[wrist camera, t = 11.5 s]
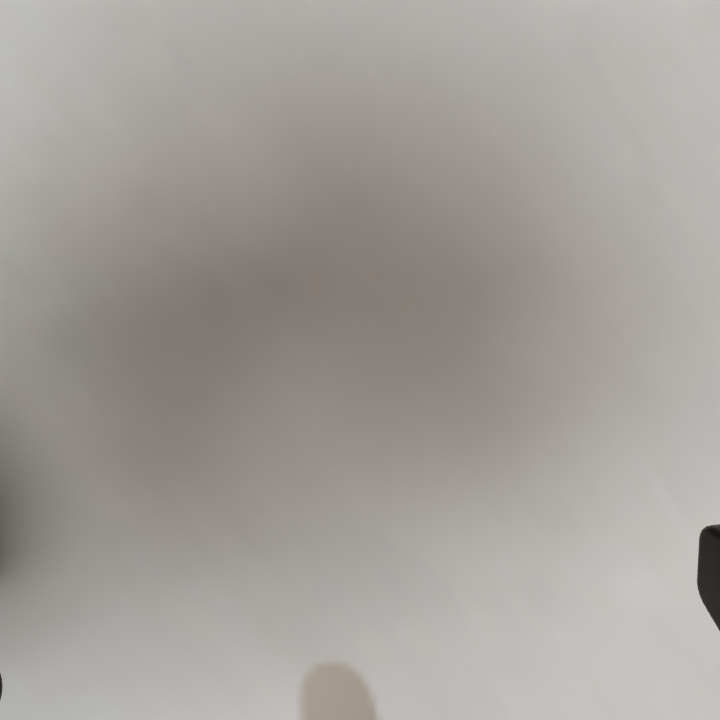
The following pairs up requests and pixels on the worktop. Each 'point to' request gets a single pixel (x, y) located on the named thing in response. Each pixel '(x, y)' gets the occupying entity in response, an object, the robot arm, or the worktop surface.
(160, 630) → the worktop surface
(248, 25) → the worktop surface
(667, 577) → the worktop surface
